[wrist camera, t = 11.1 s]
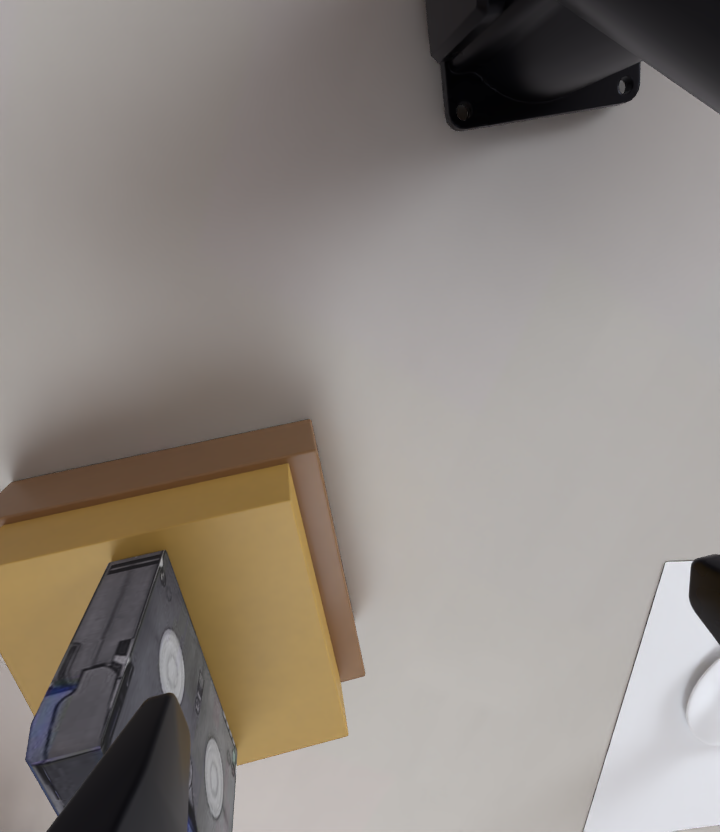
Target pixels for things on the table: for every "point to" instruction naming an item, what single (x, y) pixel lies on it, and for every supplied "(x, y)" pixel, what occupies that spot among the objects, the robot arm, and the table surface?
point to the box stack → (197, 574)
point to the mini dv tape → (134, 690)
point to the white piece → (666, 725)
